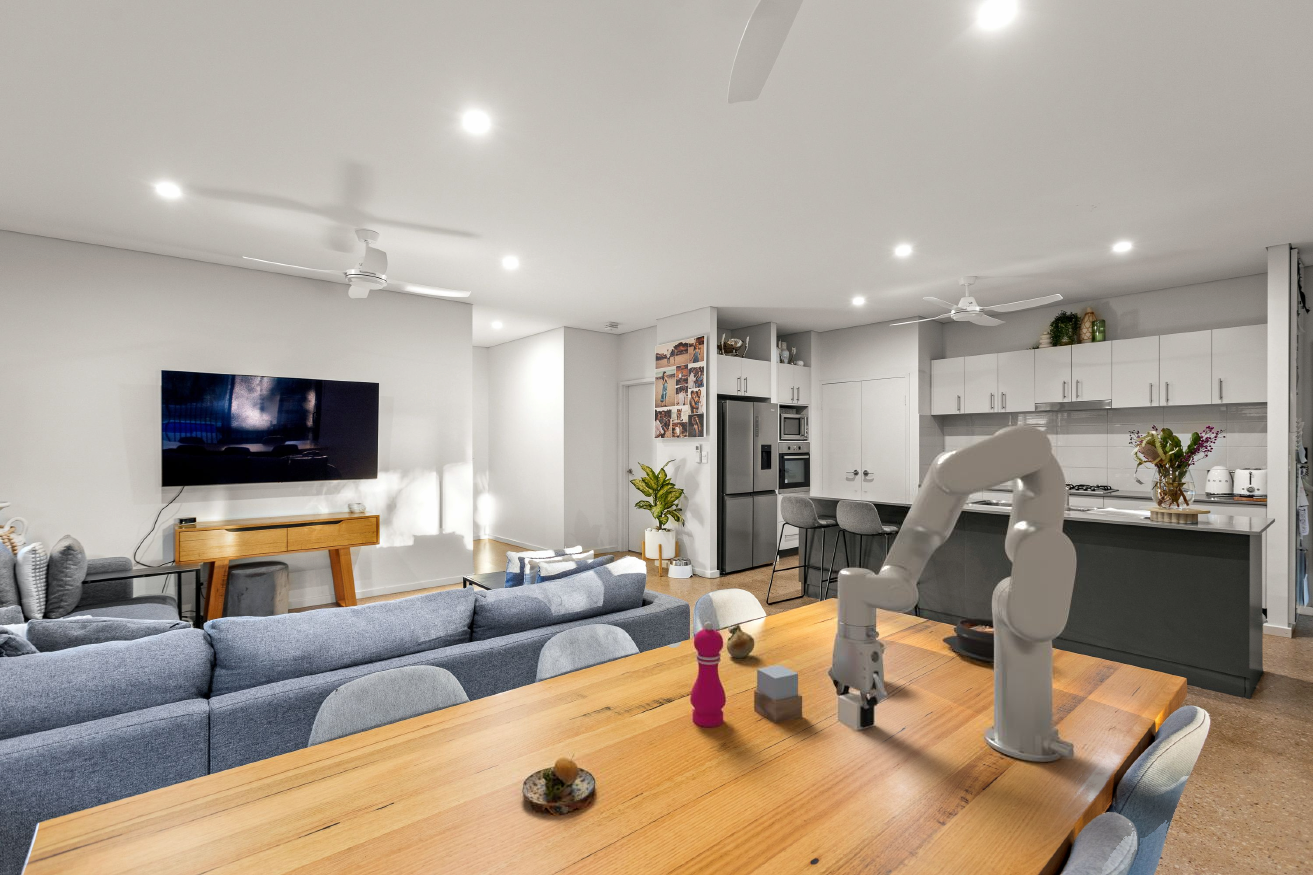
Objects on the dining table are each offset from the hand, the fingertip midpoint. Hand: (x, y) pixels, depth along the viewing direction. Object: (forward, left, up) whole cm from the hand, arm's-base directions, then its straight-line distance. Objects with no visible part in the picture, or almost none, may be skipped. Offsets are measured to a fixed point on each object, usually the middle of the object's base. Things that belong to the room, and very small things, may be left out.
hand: (856, 719), depth 128 cm
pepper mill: (+15, +26, -1) cm, 30 cm away
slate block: (+11, +11, +4) cm, 16 cm away
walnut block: (+11, +11, -1) cm, 16 cm away
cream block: (0, 0, -1) cm, 1 cm away
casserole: (+12, -62, -1) cm, 63 cm away
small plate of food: (+4, +62, -1) cm, 62 cm away
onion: (+43, -3, -1) cm, 43 cm away
